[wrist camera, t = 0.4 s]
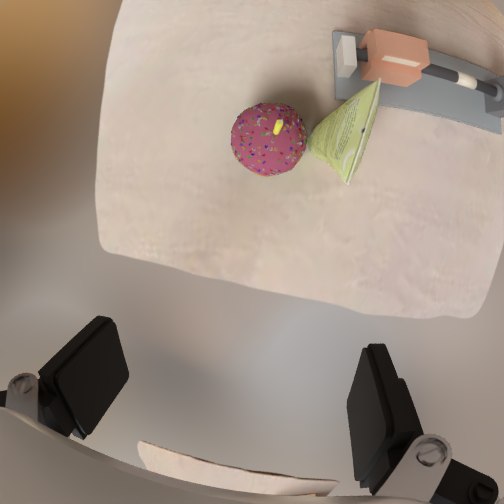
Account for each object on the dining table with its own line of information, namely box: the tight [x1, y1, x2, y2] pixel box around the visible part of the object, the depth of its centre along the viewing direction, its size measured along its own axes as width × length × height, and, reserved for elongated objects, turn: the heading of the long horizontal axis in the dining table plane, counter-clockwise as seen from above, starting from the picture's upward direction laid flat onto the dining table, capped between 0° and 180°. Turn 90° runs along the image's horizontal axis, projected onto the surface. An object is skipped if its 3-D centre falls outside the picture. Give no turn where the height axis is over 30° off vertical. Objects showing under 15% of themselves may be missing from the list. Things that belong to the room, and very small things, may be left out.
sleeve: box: [359, 28, 430, 87], centre depth 24 cm, size 6×5×8 cm
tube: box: [309, 78, 381, 184], centre depth 25 cm, size 6×5×20 cm
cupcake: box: [231, 103, 307, 177], centre depth 29 cm, size 9×8×12 cm
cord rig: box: [332, 31, 504, 134], centre depth 25 cm, size 27×10×8 cm, turn 90°
